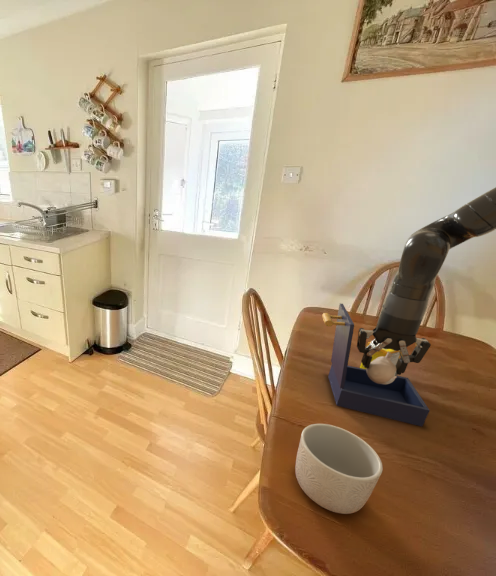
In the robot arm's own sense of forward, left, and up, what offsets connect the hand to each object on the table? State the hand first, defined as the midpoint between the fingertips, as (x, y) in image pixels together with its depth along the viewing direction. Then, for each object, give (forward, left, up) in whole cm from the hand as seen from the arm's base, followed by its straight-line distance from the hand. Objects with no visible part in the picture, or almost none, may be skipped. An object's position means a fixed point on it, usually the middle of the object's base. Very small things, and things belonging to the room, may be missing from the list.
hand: (381, 369), depth 82 cm
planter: (+15, +35, -10) cm, 39 cm away
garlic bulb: (0, 0, -4) cm, 4 cm away
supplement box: (-4, -13, -10) cm, 17 cm away
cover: (+9, 0, +5) cm, 11 cm away
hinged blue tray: (0, 0, -10) cm, 10 cm away
